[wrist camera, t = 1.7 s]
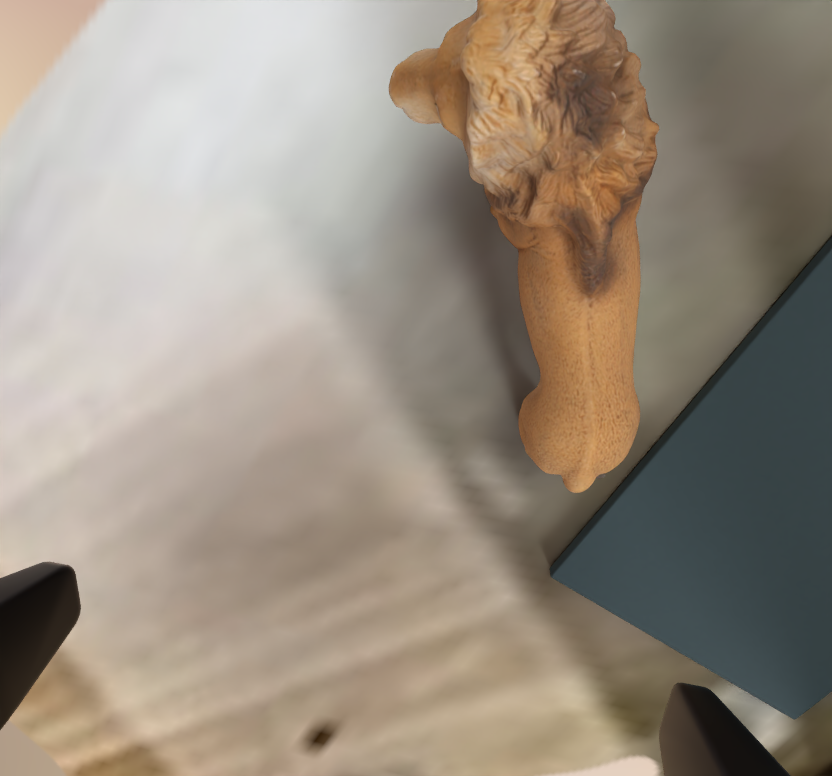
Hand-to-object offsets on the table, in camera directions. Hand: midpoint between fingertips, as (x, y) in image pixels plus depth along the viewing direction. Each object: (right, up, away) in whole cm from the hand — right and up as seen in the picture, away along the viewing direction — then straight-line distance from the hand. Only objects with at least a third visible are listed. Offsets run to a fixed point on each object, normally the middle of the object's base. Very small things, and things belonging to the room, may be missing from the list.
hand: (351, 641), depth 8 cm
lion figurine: (+5, +8, +11) cm, 14 cm away
